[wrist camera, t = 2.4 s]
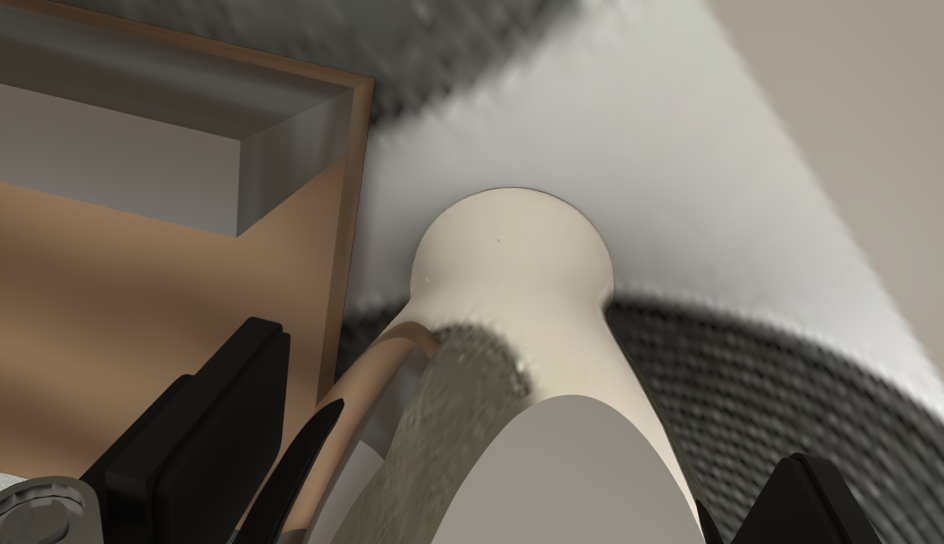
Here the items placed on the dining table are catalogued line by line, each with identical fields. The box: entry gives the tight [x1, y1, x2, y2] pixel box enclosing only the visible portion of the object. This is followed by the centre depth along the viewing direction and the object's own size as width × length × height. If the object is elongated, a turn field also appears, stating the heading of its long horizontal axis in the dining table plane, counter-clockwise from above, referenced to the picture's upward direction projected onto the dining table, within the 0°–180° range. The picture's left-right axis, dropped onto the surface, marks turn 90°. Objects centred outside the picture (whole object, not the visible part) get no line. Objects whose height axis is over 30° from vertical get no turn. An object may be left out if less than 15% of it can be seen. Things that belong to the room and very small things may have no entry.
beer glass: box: [232, 188, 724, 544], centre depth 11 cm, size 7×7×15 cm
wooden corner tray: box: [0, 0, 375, 530], centre depth 16 cm, size 16×14×8 cm
